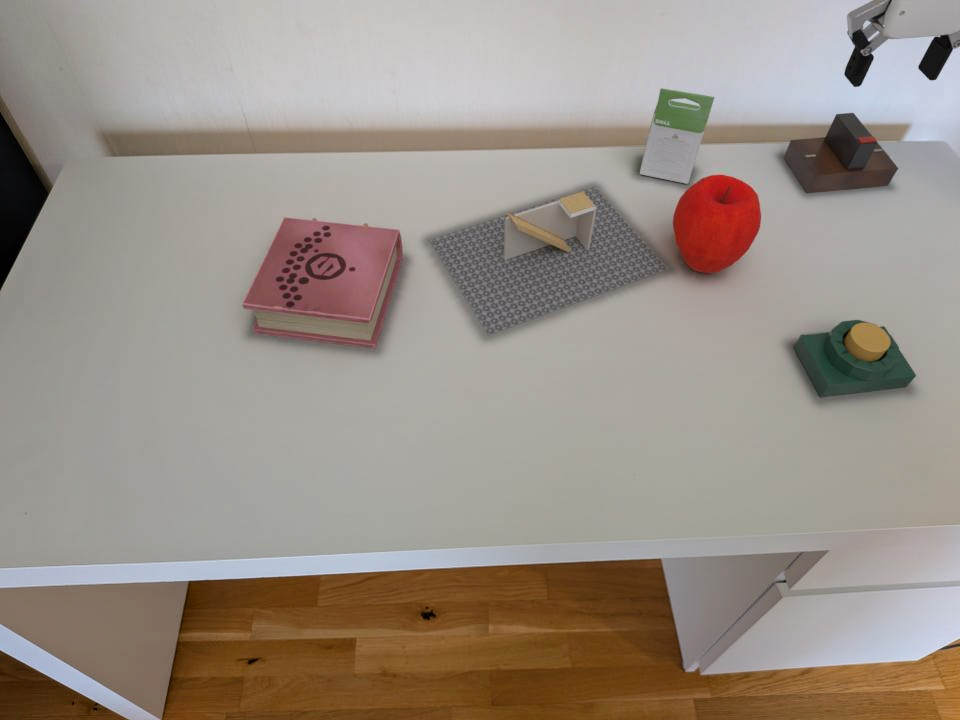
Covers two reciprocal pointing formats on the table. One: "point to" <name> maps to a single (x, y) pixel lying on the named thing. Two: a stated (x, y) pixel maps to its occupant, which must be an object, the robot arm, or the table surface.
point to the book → (326, 282)
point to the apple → (716, 222)
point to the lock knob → (850, 141)
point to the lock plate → (835, 167)
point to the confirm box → (850, 364)
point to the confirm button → (867, 342)
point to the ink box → (675, 135)
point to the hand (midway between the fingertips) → (889, 77)
